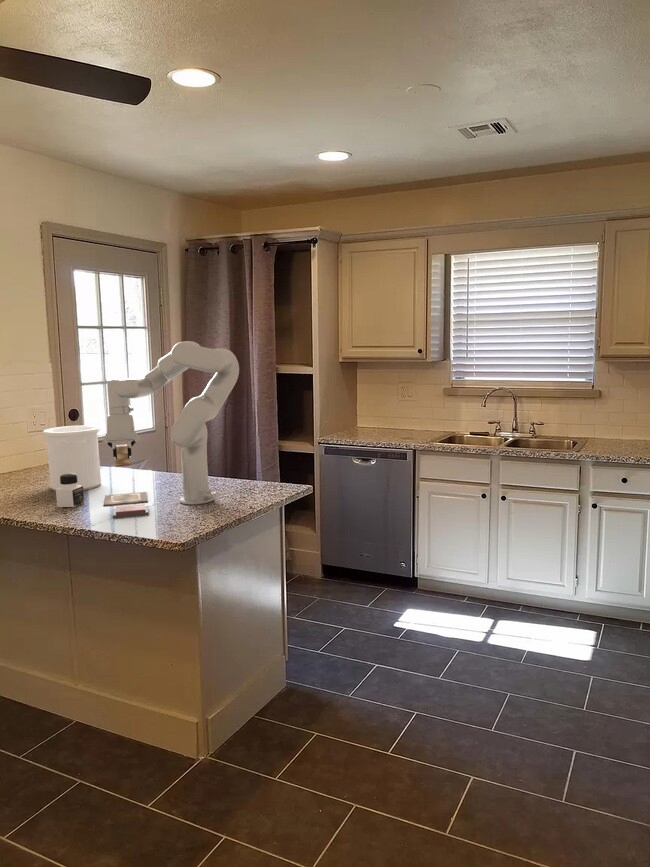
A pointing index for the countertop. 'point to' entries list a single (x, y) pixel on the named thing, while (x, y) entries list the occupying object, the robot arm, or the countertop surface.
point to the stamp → (122, 456)
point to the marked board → (125, 498)
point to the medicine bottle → (69, 491)
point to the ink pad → (130, 511)
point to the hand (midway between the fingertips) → (122, 457)
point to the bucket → (74, 455)
